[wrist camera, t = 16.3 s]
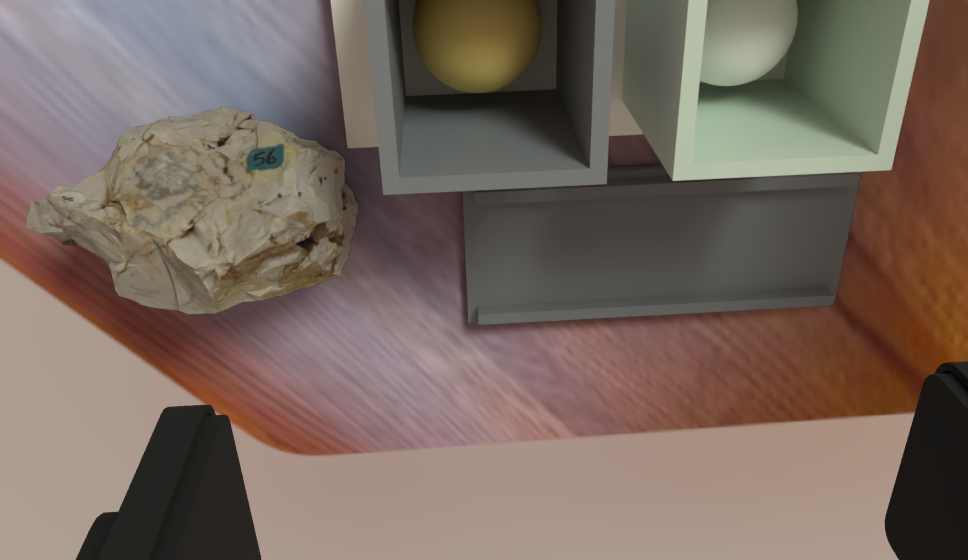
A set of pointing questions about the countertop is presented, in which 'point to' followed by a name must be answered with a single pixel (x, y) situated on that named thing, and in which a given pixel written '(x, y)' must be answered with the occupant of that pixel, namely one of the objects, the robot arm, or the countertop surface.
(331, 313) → the countertop surface
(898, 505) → the robot arm
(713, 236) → the mat
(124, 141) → the rock
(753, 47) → the white ball
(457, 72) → the mustard ball
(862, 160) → the grey double box
